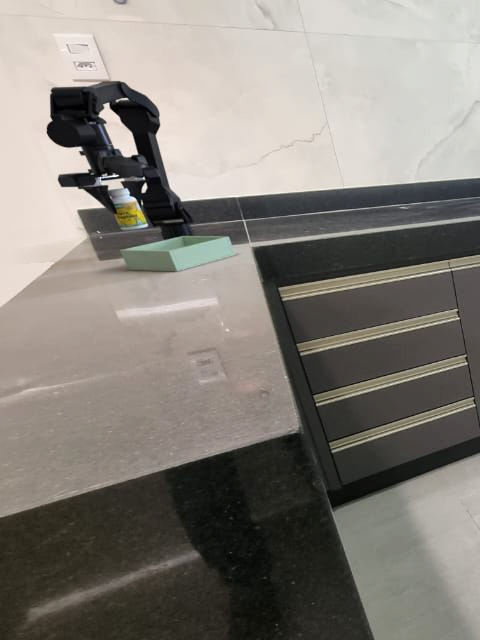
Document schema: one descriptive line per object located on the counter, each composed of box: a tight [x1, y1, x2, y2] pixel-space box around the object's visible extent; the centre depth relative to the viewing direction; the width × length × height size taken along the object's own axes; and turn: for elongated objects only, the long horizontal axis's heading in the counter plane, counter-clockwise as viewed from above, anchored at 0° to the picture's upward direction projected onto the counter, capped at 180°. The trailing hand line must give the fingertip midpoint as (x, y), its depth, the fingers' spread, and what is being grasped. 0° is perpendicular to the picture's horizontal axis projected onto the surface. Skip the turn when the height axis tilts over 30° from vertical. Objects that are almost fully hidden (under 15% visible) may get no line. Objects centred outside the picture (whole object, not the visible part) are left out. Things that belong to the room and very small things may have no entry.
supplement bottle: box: [108, 187, 149, 231], centre depth 133 cm, size 5×5×10 cm
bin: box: [119, 235, 236, 272], centre depth 135 cm, size 16×16×5 cm
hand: (127, 211), depth 133 cm, fingers closed on supplement bottle, 5 cm apart
